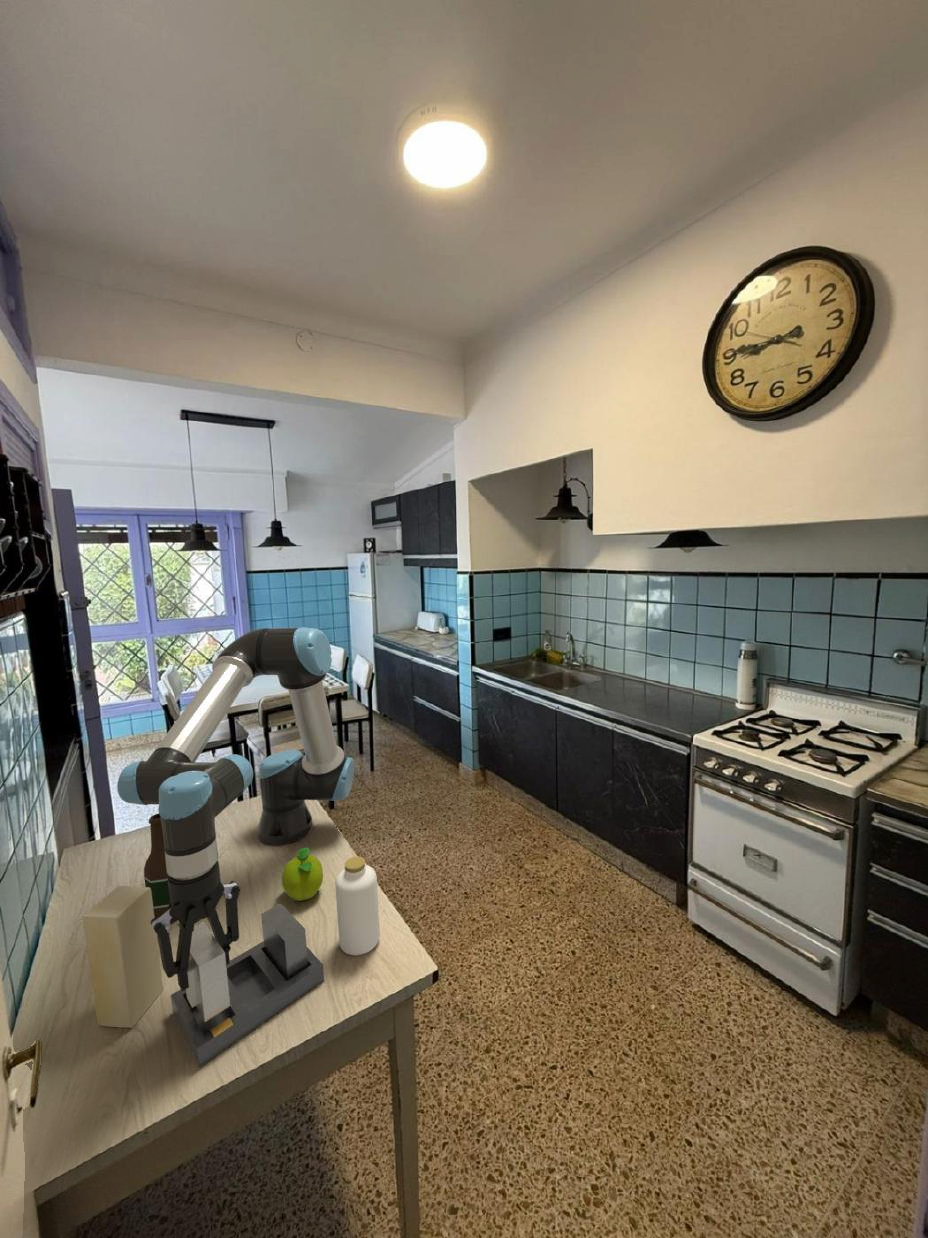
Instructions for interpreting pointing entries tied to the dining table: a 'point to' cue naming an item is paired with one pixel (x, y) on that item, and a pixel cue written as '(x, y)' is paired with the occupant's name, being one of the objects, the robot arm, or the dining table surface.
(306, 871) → the fruit
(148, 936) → the cream tall block
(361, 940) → the potion bottle
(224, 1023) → the rack
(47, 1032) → the dining table surface
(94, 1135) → the dining table surface
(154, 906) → the beer bottle
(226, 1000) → the silver rectangular block
